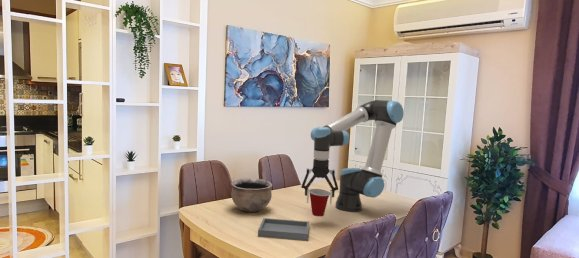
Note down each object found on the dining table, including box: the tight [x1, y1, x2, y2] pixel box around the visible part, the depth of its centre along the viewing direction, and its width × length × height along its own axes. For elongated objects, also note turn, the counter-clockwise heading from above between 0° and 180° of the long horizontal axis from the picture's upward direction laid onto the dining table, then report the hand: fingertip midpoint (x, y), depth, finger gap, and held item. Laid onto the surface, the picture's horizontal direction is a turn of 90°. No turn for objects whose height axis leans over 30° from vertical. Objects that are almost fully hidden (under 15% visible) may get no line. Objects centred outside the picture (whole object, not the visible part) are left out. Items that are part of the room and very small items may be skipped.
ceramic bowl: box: [230, 178, 273, 213], centre depth 195 cm, size 22×22×15 cm
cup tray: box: [257, 217, 310, 242], centre depth 166 cm, size 22×16×3 cm
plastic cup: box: [309, 188, 330, 217], centre depth 178 cm, size 11×11×12 cm
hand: (319, 202), depth 178 cm, fingers closed on plastic cup, 11 cm apart
